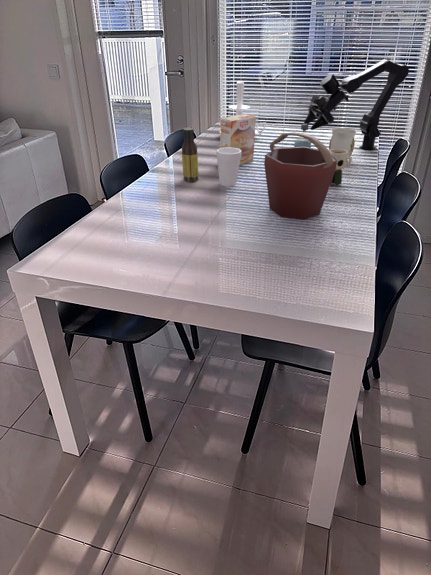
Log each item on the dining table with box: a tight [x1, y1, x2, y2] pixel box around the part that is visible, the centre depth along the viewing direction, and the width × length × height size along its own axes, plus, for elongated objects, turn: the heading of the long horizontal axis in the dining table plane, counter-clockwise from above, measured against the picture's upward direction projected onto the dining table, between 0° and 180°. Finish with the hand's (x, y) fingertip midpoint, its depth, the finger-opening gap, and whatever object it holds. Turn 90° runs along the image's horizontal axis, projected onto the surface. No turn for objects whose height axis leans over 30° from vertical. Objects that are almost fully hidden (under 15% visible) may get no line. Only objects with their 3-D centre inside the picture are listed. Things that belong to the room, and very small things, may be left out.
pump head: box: [300, 123, 310, 133], centre depth 204 cm, size 3×3×3 cm
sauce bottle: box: [181, 127, 199, 183], centre depth 169 cm, size 6×6×20 cm
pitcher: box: [328, 127, 357, 162], centre depth 196 cm, size 11×18×14 cm, turn 160°
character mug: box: [328, 149, 353, 186], centre depth 168 cm, size 11×7×13 cm, turn 73°
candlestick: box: [218, 80, 267, 137], centre depth 224 cm, size 21×25×28 cm
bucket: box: [263, 132, 337, 221], centre depth 142 cm, size 24×22×25 cm
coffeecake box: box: [219, 113, 257, 166], centre depth 189 cm, size 15×7×20 cm, turn 131°
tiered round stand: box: [293, 138, 312, 148], centre depth 209 cm, size 13×13×6 cm
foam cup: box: [216, 147, 241, 188], centre depth 167 cm, size 10×9×13 cm
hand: (307, 127), depth 204 cm, fingers open, 9 cm apart
